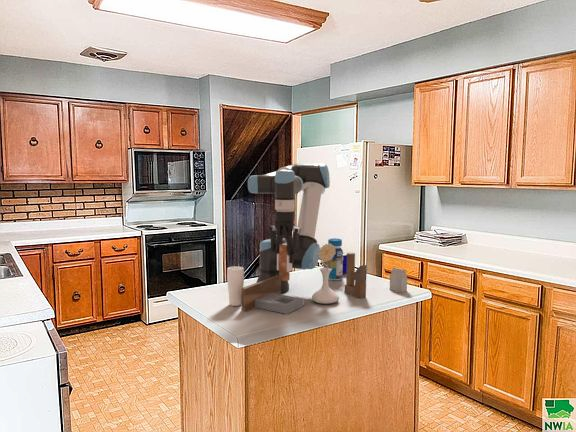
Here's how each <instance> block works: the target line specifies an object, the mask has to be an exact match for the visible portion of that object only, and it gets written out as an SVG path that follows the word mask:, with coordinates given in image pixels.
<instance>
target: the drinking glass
mask: <svg viewBox="0 0 576 432" xmlns="http://www.w3.org/2000/svg"><path fill="white" fill-rule="evenodd" d="M226 269H227V270H226V278H227V279H226V283H227V291H228V304H229V306H232V307H239V306H241V288H243V287H244V286H245V285H244V283H245V267H243V266H229V267H227V268H226Z"/></svg>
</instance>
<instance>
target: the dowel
mask: <svg viewBox="0 0 576 432" xmlns="http://www.w3.org/2000/svg"><path fill="white" fill-rule="evenodd" d="M288 254H289V253H288V247H287V244H279V280H280V281H288V282H289V281H290V278H291V277H290V275H291V274H290V272H291V271H290V272H287V255H288Z"/></svg>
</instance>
